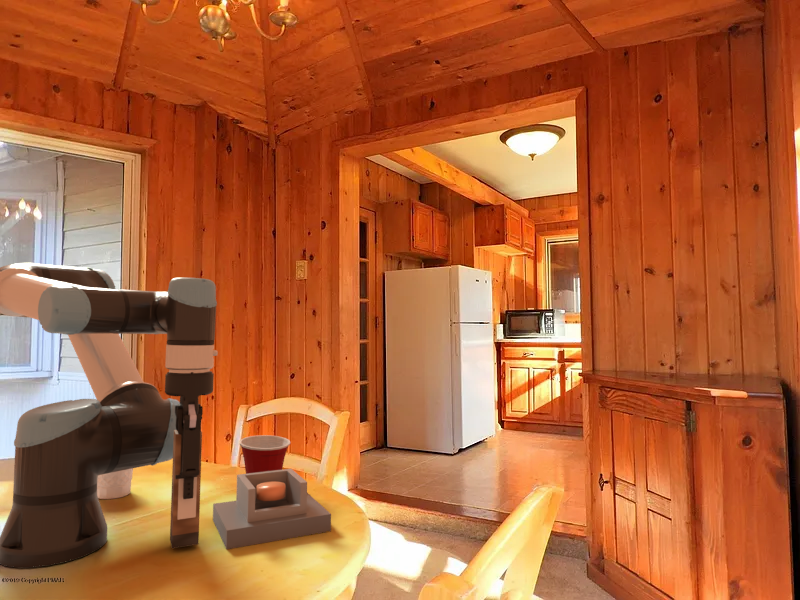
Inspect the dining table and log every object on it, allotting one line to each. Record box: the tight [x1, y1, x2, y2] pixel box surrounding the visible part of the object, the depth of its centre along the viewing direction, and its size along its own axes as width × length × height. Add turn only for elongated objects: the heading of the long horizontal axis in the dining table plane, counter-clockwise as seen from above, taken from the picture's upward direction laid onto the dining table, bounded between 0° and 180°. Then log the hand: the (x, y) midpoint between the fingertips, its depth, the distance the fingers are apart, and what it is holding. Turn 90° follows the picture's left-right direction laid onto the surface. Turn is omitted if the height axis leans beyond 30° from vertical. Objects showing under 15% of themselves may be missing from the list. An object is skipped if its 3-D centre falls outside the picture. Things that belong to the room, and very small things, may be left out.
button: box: [256, 482, 286, 501], centre depth 99 cm, size 5×5×2 cm
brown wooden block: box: [169, 430, 203, 549], centre depth 89 cm, size 4×4×18 cm
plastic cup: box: [239, 434, 291, 474], centre depth 116 cm, size 11×11×12 cm
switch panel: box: [212, 468, 332, 550], centre depth 99 cm, size 18×15×8 cm
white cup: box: [97, 468, 134, 500], centre depth 116 cm, size 8×8×10 cm
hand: (185, 512), depth 88 cm, fingers closed on brown wooden block, 4 cm apart
